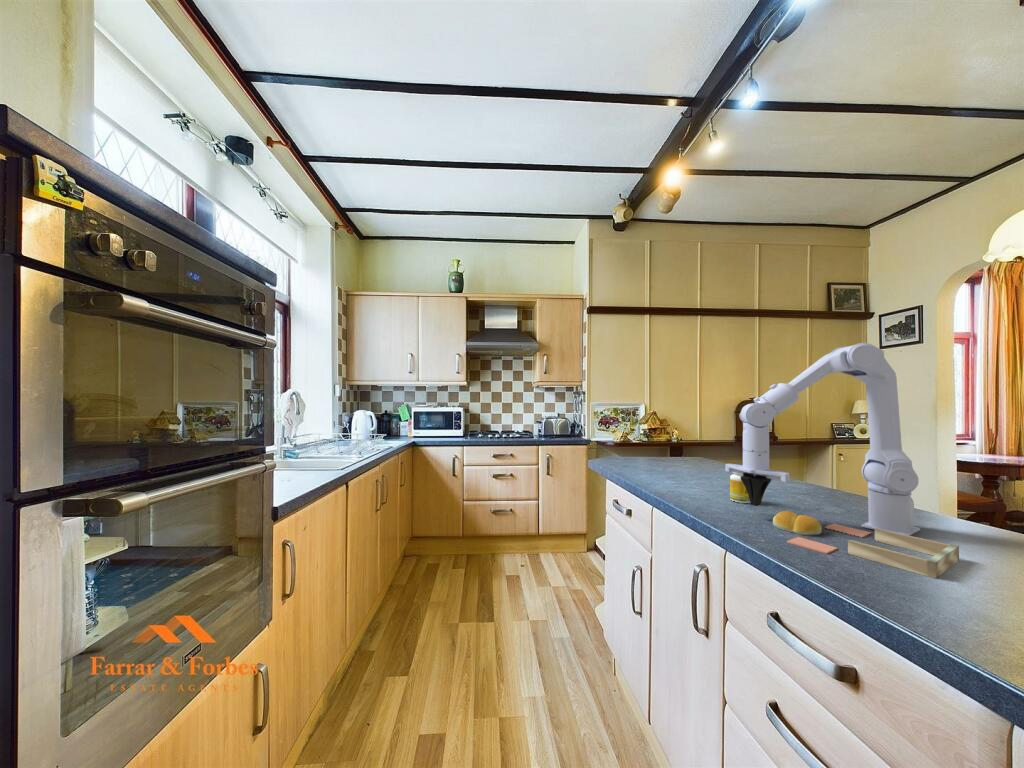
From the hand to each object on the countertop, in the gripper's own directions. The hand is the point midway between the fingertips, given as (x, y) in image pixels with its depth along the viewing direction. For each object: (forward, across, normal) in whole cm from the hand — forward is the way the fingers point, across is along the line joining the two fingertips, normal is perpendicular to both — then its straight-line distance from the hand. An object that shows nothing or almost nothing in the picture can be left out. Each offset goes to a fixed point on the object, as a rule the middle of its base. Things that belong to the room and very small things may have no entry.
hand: (755, 505), depth 99 cm
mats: (+3, +16, 0) cm, 16 cm away
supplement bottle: (+4, -11, +13) cm, 17 cm away
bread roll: (+4, +9, 0) cm, 10 cm away
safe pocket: (+3, +27, 0) cm, 27 cm away
